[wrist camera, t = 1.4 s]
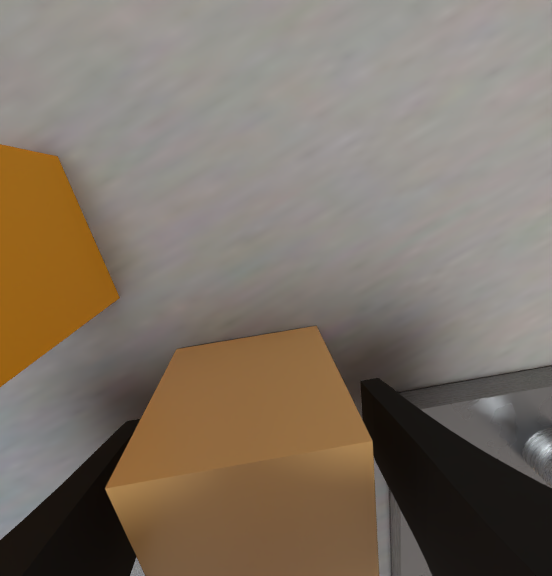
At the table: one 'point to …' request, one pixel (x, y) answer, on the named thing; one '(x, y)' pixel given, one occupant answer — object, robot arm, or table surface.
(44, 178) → the pipe clamp
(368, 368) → the table surface
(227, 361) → the light orange cube
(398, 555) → the plate
